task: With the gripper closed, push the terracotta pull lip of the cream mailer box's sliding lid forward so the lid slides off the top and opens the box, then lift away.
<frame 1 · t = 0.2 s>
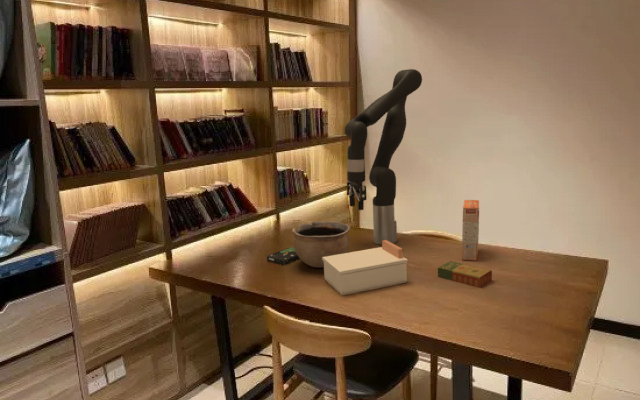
hand: (356, 208, 199), 17 cm above the table, tool pointing down, fingers open, 8 cm apart
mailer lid: (363, 255, 163), point 9 cm above the table, slide at 0.0 cm
mailer box: (364, 280, 165), on the table
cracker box: (470, 255, 185), on the table
disk drive: (288, 259, 194), on the table
carton: (464, 280, 162), on the table
ceramic bowl: (323, 264, 184), on the table
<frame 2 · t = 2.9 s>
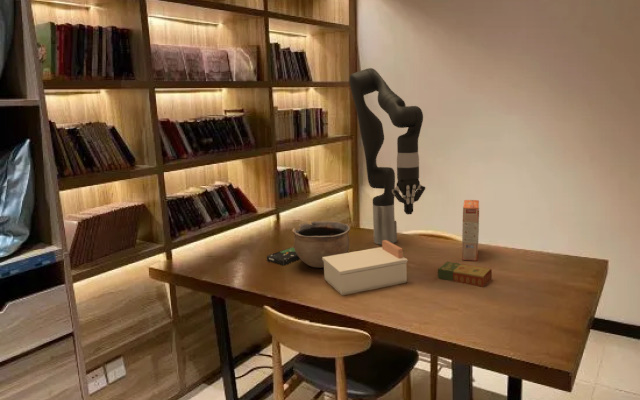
hand: (408, 213, 166), 22 cm above the table, tool pointing down, fingers closed
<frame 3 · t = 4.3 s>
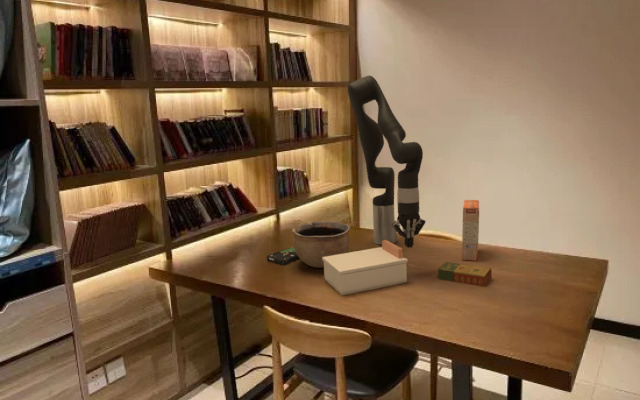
hand: (409, 247, 169), 10 cm above the table, tool pointing down, fingers closed
nothing on the table moved.
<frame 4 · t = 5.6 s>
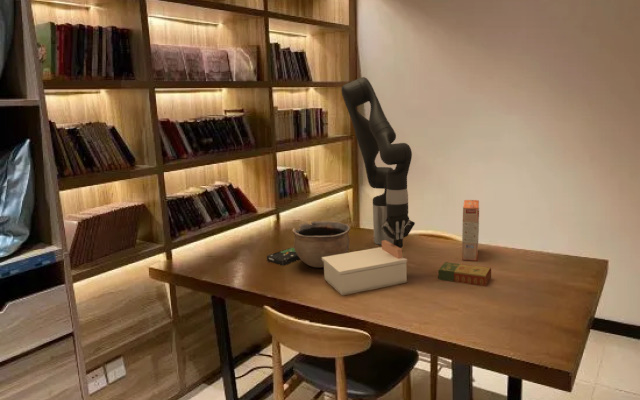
hand: (398, 248, 167), 10 cm above the table, tool pointing down, fingers closed
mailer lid: (363, 255, 163), point 9 cm above the table, slide at 0.2 cm, touching gripper
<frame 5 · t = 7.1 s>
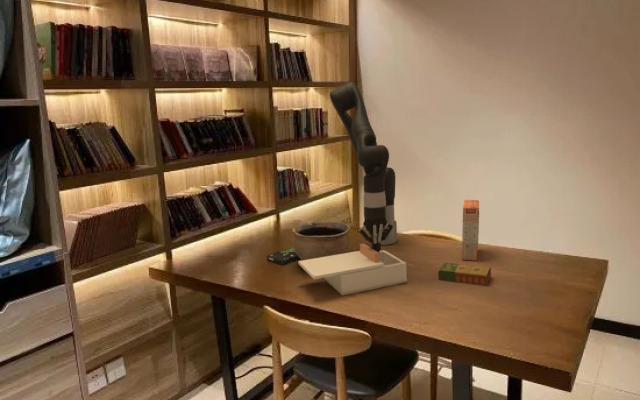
hand: (376, 252, 164), 10 cm above the table, tool pointing down, fingers closed
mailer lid: (340, 259, 160), point 9 cm above the table, slide at 8.9 cm, touching gripper
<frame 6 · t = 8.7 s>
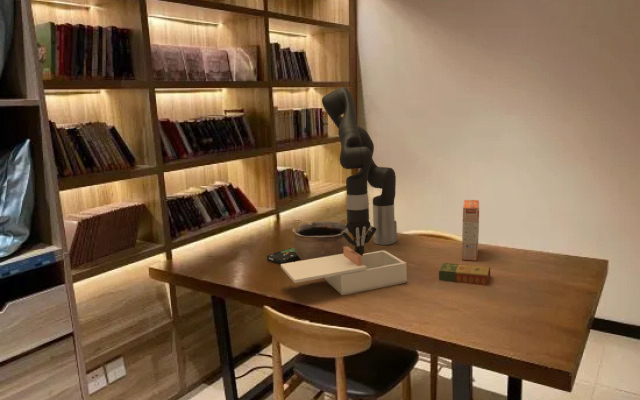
hand: (359, 255, 162), 10 cm above the table, tool pointing down, fingers closed
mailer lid: (322, 262, 158), point 9 cm above the table, slide at 15.3 cm, touching gripper
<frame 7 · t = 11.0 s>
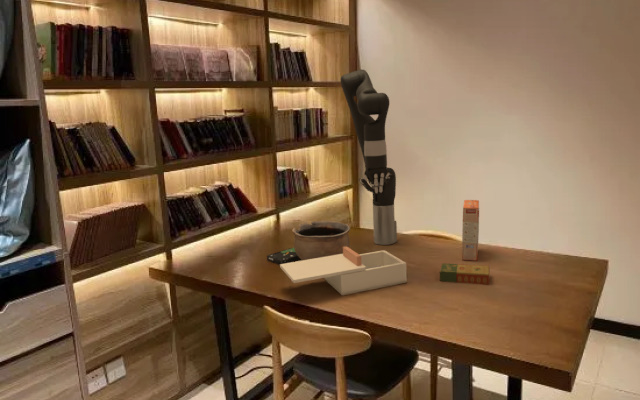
hand: (377, 202, 164), 27 cm above the table, tool pointing down, fingers closed
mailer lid: (321, 262, 158), point 9 cm above the table, slide at 15.5 cm
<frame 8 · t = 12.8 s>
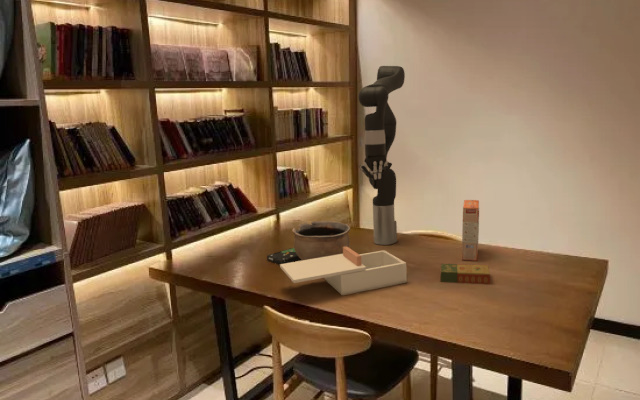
hand: (376, 188, 177), 29 cm above the table, tool pointing down, fingers closed
at the end: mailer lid slide at 15.5 cm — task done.
